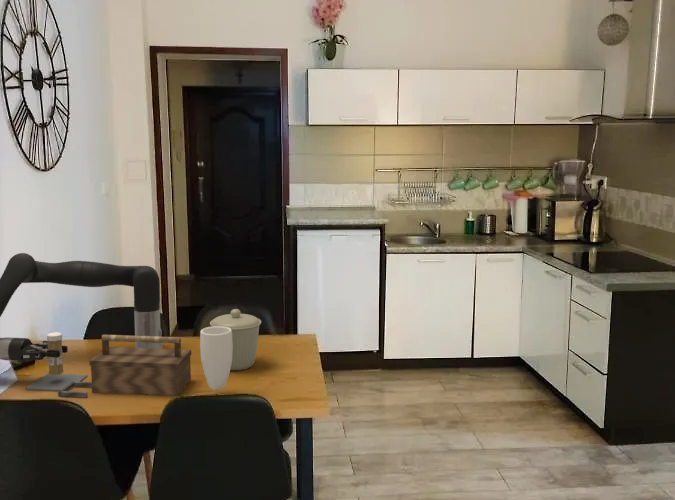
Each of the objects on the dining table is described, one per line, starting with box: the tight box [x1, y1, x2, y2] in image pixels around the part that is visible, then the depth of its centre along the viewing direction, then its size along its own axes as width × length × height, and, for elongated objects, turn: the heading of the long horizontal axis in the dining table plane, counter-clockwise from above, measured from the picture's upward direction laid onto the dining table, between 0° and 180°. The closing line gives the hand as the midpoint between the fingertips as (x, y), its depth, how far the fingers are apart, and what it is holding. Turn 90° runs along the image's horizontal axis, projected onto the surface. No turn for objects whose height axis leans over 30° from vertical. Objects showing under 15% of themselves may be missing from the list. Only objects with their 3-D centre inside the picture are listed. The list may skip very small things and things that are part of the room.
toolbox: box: [57, 334, 192, 399], centre depth 215 cm, size 37×19×17 cm, turn 86°
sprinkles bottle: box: [46, 331, 64, 375], centre depth 218 cm, size 5×5×14 cm
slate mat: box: [25, 373, 88, 392], centre depth 219 cm, size 14×14×1 cm
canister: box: [209, 308, 262, 371], centre depth 237 cm, size 18×18×21 cm
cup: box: [199, 326, 233, 391], centre depth 209 cm, size 10×10×22 cm
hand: (63, 351), depth 217 cm, fingers closed on sprinkles bottle, 4 cm apart
